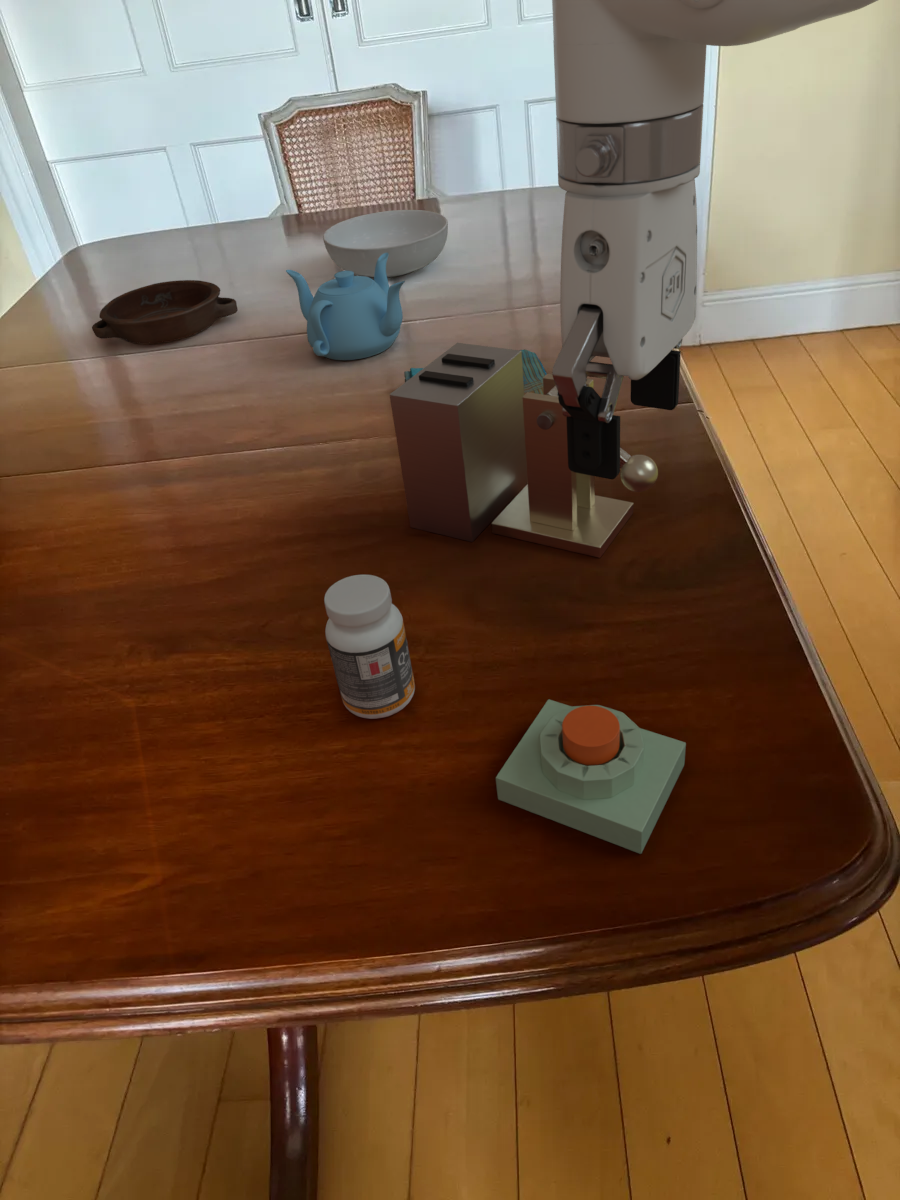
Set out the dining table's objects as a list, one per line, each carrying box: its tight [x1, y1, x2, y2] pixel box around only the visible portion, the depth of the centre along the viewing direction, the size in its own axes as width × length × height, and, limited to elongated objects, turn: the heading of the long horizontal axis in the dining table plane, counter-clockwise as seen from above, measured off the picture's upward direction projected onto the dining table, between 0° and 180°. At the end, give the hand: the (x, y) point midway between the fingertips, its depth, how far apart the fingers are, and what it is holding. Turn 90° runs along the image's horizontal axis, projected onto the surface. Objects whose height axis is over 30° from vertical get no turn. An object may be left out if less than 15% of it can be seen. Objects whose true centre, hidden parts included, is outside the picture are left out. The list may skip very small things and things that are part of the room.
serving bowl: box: [322, 209, 449, 279], centre depth 150 cm, size 21×21×7 cm
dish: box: [91, 279, 238, 345], centre depth 138 cm, size 18×22×5 cm
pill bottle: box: [323, 574, 416, 720], centre depth 66 cm, size 6×6×10 cm
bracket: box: [491, 373, 634, 559], centre depth 81 cm, size 11×8×14 cm
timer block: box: [495, 698, 687, 855], centre depth 59 cm, size 10×8×4 cm
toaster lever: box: [547, 385, 659, 493], centre depth 78 cm, size 12×3×3 cm
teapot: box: [285, 253, 406, 361], centre depth 123 cm, size 15×15×10 cm
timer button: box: [562, 705, 620, 765], centre depth 57 cm, size 4×4×2 cm
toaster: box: [389, 342, 528, 543], centre depth 85 cm, size 7×12×14 cm, turn 150°
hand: (625, 437), depth 58 cm, fingers open, 9 cm apart
